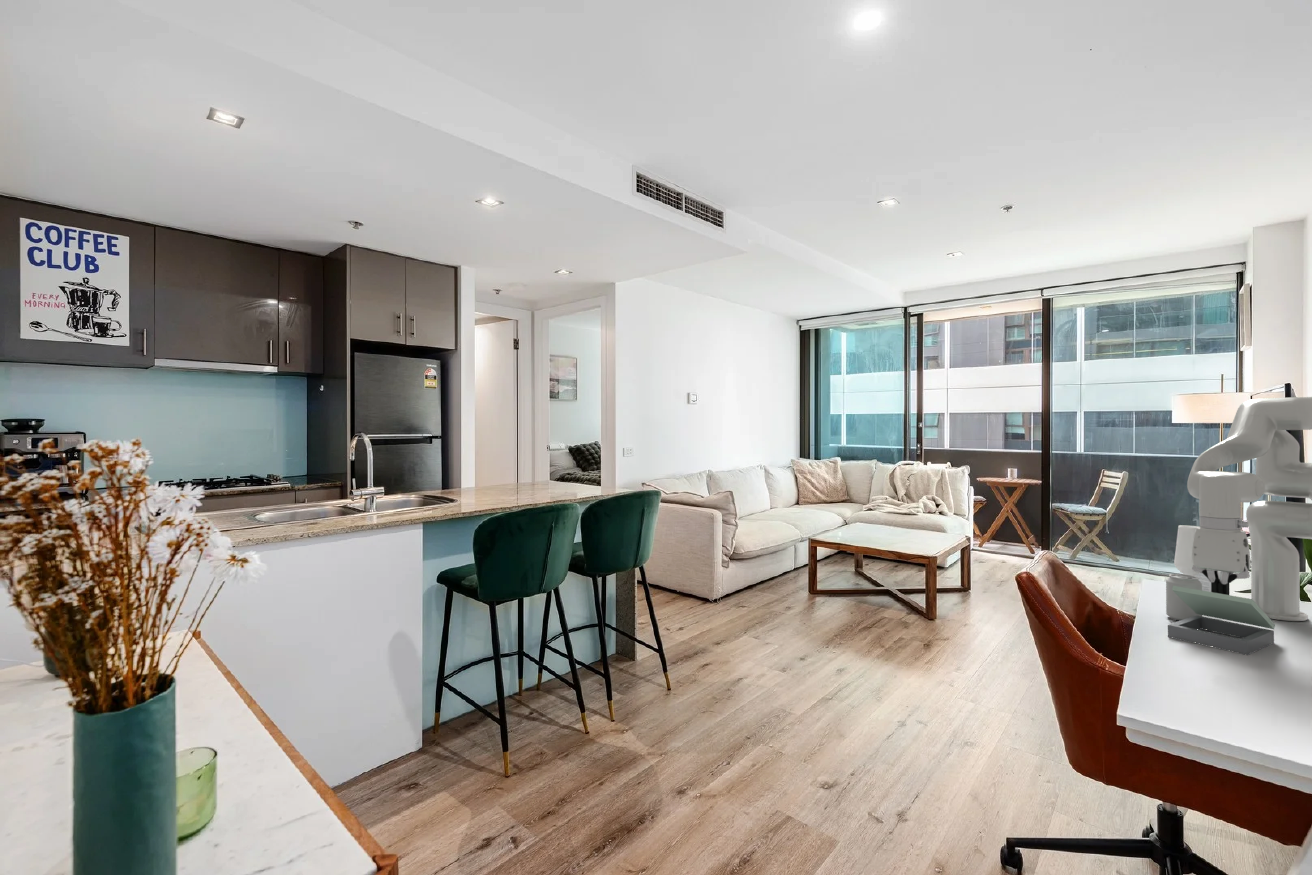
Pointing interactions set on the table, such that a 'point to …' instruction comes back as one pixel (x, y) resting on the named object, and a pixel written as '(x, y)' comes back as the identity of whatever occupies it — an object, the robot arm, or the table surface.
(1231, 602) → the plate
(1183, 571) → the champagne flute
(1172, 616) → the can
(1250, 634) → the duct box
